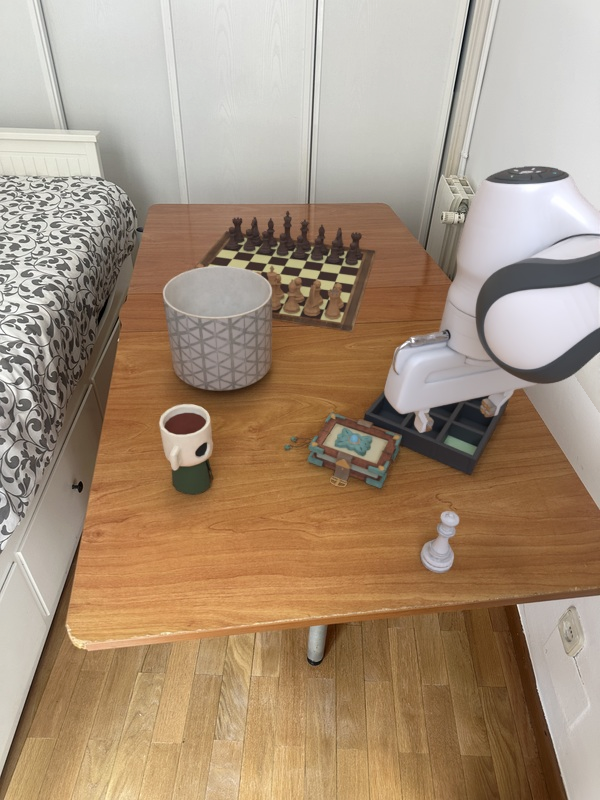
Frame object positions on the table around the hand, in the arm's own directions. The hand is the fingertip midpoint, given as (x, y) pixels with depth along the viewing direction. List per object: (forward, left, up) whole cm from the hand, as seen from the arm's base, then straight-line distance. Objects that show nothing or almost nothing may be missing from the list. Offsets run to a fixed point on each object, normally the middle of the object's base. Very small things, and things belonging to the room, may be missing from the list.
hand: (455, 420), depth 67 cm
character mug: (+33, +13, -20) cm, 41 cm away
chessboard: (+62, -54, -20) cm, 85 cm away
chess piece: (-4, +5, -20) cm, 21 cm away
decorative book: (+17, -5, -20) cm, 27 cm away
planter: (+47, -12, -20) cm, 53 cm away
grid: (+7, -23, -20) cm, 31 cm away
